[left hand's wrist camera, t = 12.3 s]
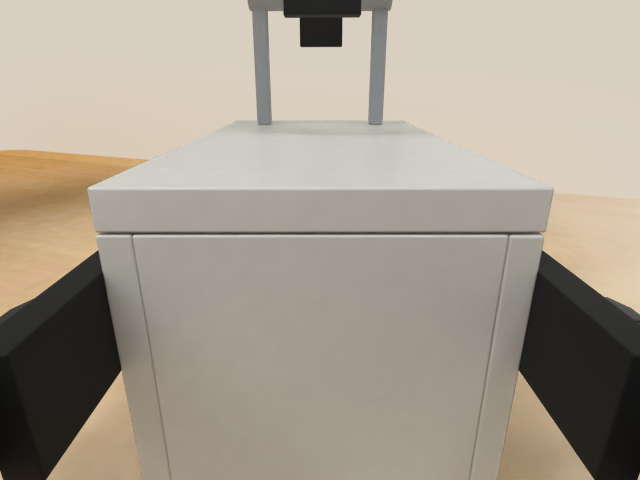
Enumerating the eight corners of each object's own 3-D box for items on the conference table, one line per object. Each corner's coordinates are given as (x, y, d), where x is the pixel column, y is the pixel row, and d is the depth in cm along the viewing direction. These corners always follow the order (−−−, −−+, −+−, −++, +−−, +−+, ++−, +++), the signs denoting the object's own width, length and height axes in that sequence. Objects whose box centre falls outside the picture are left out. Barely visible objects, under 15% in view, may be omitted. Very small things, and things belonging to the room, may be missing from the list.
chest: (243, 275, 28) (234, 140, 25) (396, 275, 28) (405, 140, 25) (149, 516, 12) (94, 235, 9) (491, 515, 12) (546, 235, 9)
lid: (237, 138, 26) (227, -15, 23) (402, 138, 26) (412, -15, 23) (93, 233, 9) (-2, -258, 7) (547, 233, 9) (642, -258, 7)
